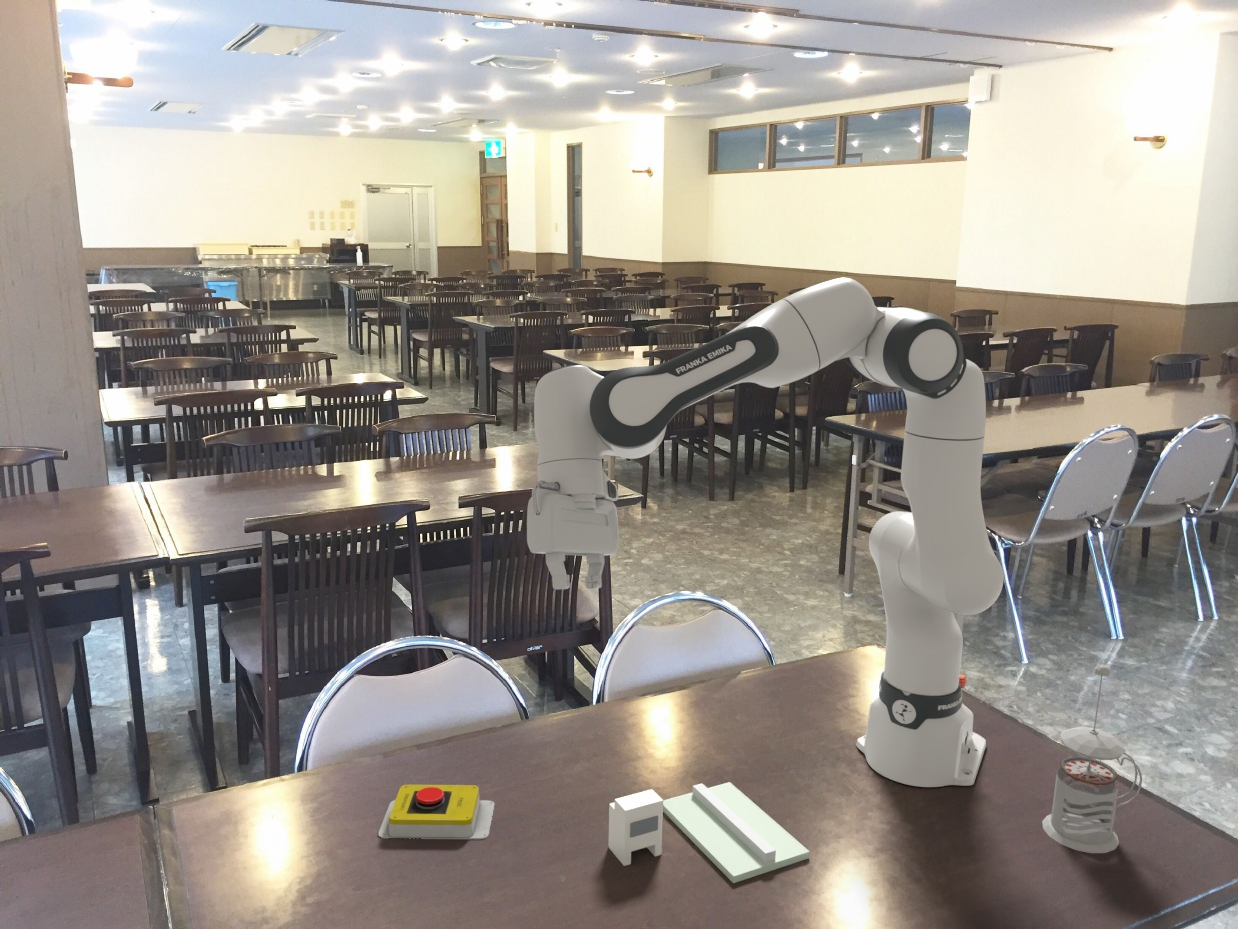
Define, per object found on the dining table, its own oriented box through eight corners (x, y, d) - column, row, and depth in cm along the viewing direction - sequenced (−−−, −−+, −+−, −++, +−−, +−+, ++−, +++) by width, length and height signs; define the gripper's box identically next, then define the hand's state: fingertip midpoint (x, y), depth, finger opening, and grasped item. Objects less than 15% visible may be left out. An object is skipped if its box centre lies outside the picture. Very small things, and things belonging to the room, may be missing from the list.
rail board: (659, 807, 142) (659, 792, 141) (729, 788, 147) (730, 773, 146) (733, 883, 125) (734, 866, 125) (809, 858, 131) (810, 842, 130)
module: (608, 847, 132) (609, 793, 130) (645, 836, 135) (646, 783, 133) (624, 867, 128) (625, 811, 126) (662, 855, 131) (663, 801, 129)
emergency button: (390, 775, 141) (495, 777, 142) (391, 803, 142) (495, 804, 143) (375, 812, 132) (487, 813, 133) (376, 841, 133) (488, 842, 134)
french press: (1033, 809, 143) (1053, 648, 137) (1118, 817, 141) (1142, 654, 136) (1053, 849, 134) (1075, 678, 128) (1144, 858, 132) (1170, 685, 126)
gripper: (555, 475, 122) (562, 587, 120) (623, 489, 141) (630, 586, 139) (511, 481, 125) (517, 591, 123) (583, 494, 143) (590, 590, 141)
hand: (578, 589), depth 131 cm, fingers open, 8 cm apart
